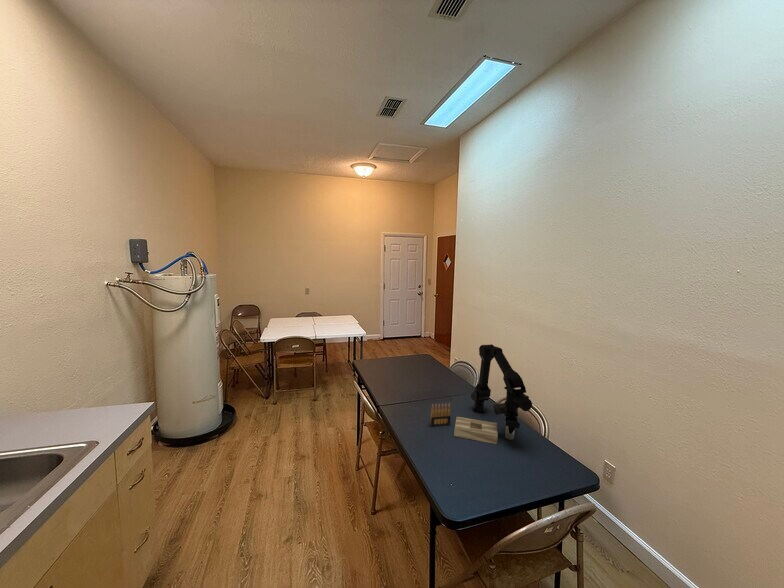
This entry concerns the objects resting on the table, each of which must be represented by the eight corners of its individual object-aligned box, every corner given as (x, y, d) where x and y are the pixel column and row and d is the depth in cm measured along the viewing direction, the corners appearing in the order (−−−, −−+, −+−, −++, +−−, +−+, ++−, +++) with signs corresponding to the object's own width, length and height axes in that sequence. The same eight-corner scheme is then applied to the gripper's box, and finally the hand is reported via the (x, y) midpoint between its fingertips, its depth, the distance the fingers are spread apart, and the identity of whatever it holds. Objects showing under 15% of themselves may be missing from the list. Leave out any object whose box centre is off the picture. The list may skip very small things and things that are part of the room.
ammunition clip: (430, 426, 163) (431, 404, 162) (429, 424, 165) (430, 403, 164) (450, 425, 165) (451, 403, 164) (449, 423, 167) (450, 401, 165)
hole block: (456, 423, 167) (456, 416, 166) (496, 430, 161) (496, 423, 161) (454, 436, 155) (454, 428, 155) (497, 444, 150) (497, 436, 149)
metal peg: (504, 434, 158) (506, 415, 157) (513, 435, 157) (515, 416, 156) (505, 438, 154) (506, 419, 153) (514, 440, 153) (515, 420, 152)
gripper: (494, 390, 164) (492, 419, 166) (495, 407, 147) (492, 438, 149) (517, 394, 161) (515, 423, 163) (521, 411, 144) (518, 443, 145)
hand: (509, 431), depth 155 cm, fingers closed on metal peg, 4 cm apart
